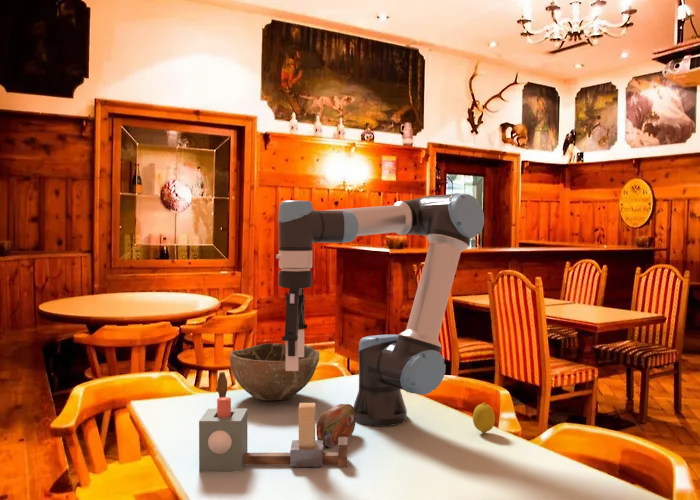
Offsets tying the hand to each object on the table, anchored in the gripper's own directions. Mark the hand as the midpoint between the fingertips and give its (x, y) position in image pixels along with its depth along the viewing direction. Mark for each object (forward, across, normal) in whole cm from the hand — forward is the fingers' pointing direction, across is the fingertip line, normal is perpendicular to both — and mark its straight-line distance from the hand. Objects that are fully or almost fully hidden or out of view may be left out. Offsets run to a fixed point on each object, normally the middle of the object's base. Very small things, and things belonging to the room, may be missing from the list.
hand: (295, 363), depth 133 cm
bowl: (+22, -49, -11) cm, 55 cm away
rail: (+22, +2, -1) cm, 22 cm away
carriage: (+22, +2, +3) cm, 22 cm away
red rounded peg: (+16, +2, -16) cm, 22 cm away
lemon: (+22, -19, +47) cm, 55 cm away
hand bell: (+22, -17, -20) cm, 34 cm away
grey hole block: (+22, +2, -16) cm, 27 cm away
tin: (+22, -13, +9) cm, 27 cm away
